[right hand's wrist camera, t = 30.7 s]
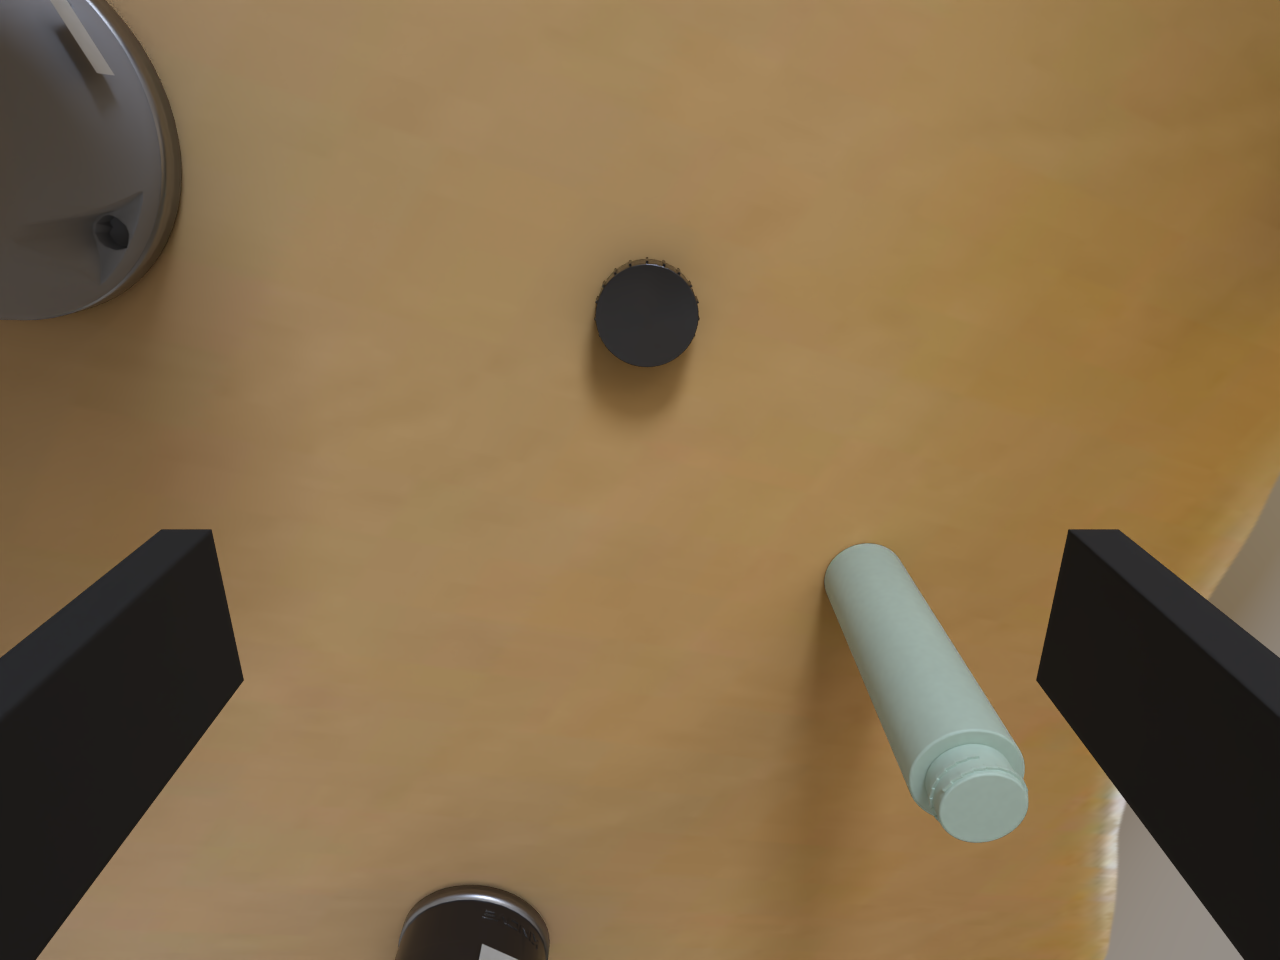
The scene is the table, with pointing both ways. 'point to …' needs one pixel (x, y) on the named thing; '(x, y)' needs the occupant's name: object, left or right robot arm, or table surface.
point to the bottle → (927, 699)
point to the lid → (646, 313)
